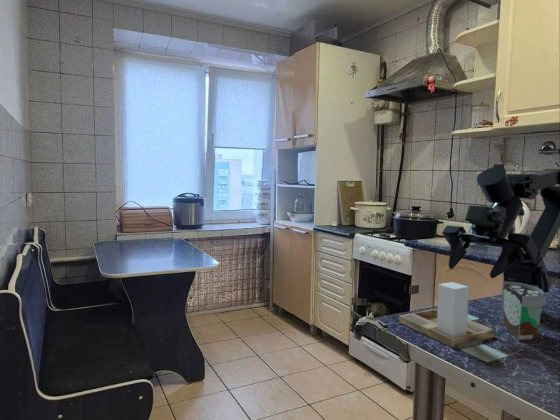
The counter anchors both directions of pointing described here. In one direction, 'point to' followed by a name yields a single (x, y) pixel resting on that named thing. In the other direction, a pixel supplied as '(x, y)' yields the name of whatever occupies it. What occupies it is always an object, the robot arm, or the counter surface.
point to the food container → (522, 309)
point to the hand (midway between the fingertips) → (469, 272)
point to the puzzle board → (469, 343)
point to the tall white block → (452, 309)
